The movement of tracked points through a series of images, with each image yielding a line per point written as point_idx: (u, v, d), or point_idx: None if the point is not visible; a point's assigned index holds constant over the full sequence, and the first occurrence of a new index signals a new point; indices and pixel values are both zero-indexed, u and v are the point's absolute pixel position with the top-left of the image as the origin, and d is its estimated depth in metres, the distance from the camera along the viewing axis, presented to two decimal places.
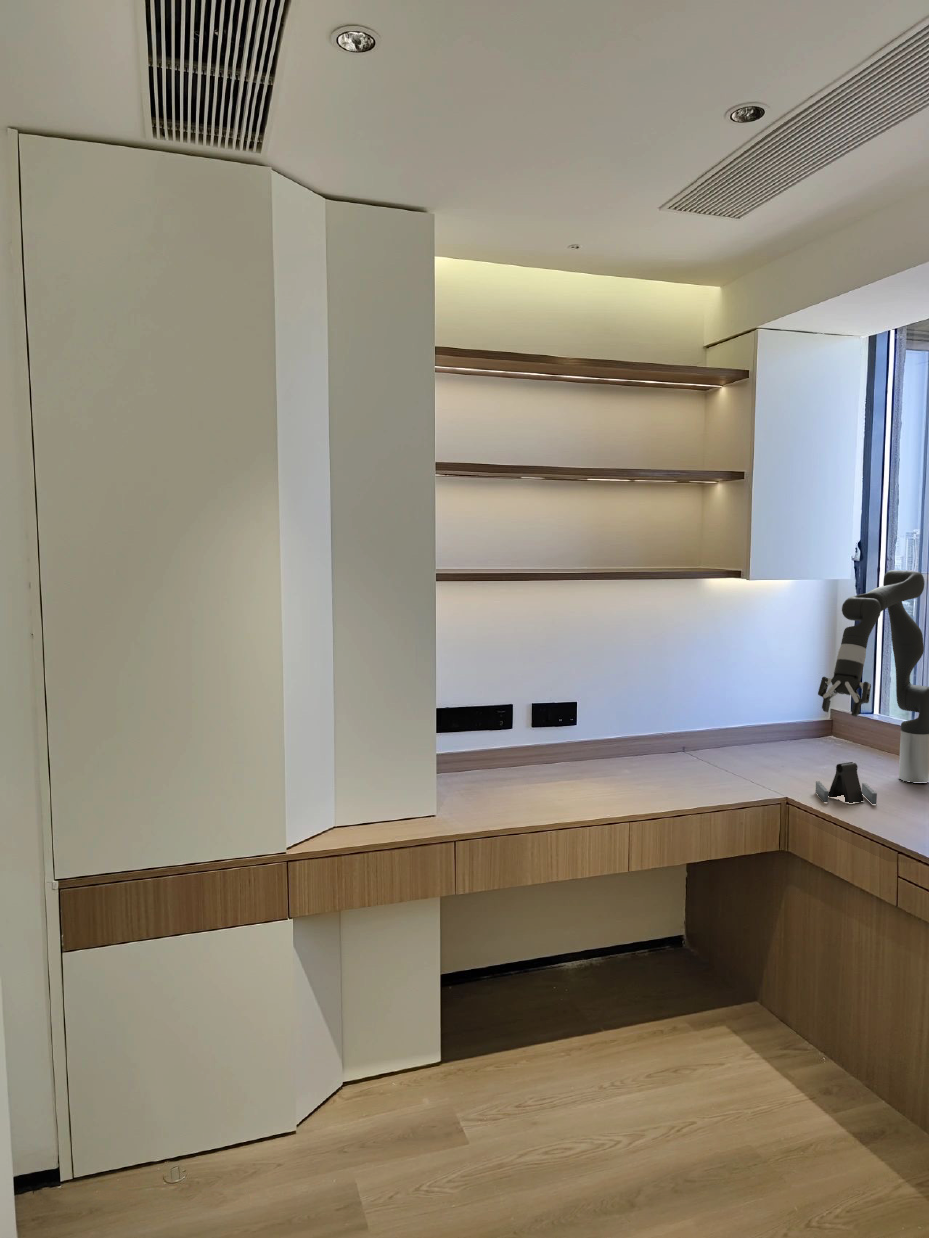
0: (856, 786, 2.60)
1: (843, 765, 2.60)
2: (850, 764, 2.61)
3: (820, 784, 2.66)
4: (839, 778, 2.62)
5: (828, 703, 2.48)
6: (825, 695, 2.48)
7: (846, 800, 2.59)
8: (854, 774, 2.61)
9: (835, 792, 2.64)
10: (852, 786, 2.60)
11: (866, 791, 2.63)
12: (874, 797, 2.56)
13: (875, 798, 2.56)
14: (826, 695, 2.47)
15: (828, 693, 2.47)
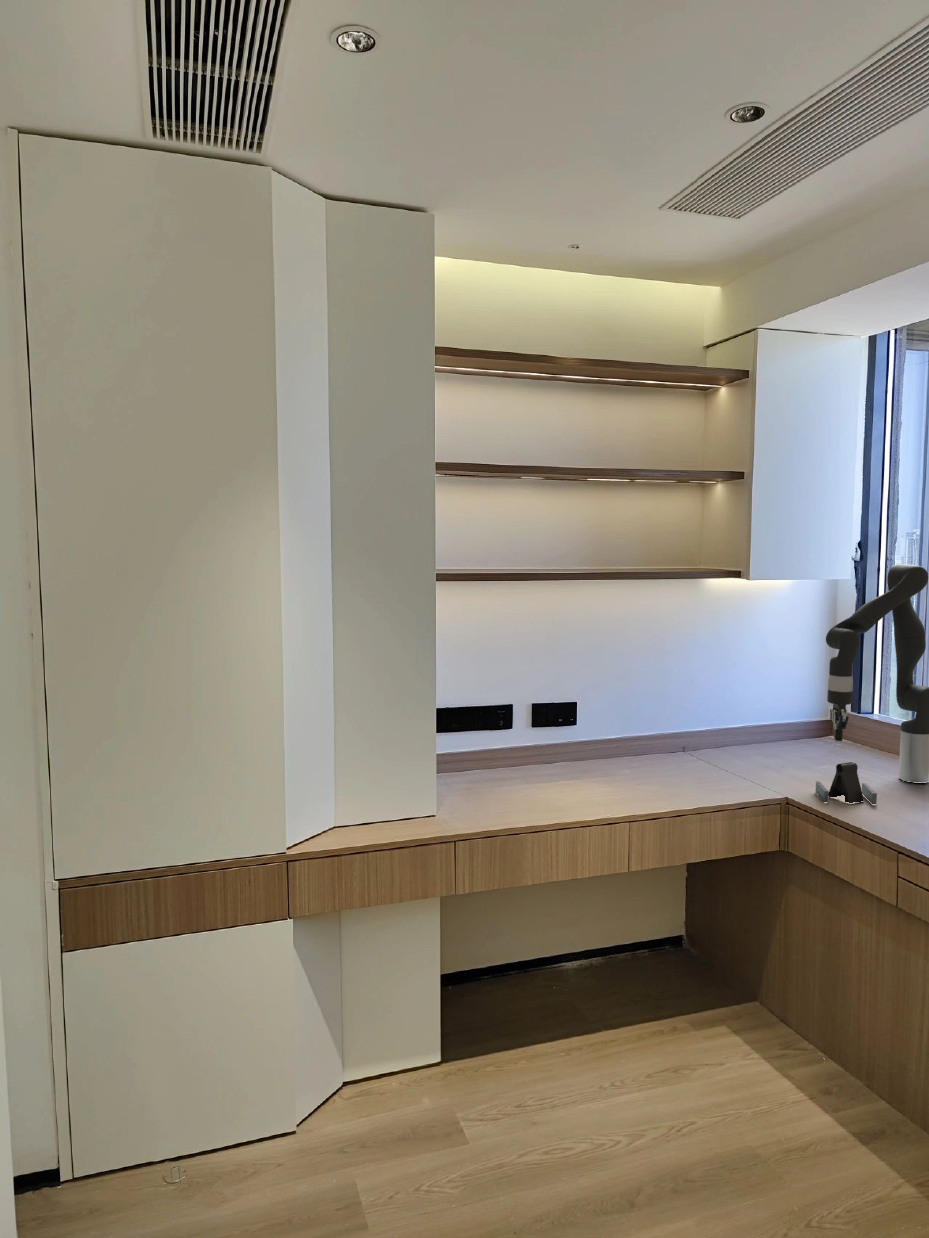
0: (856, 786, 2.60)
1: (843, 765, 2.60)
2: (850, 764, 2.61)
3: (820, 784, 2.66)
4: (839, 778, 2.62)
5: None
6: (834, 726, 2.73)
7: (846, 800, 2.59)
8: (854, 774, 2.61)
9: (835, 792, 2.64)
10: (852, 786, 2.60)
11: (866, 791, 2.63)
12: (874, 797, 2.56)
13: (875, 798, 2.56)
14: (834, 726, 2.72)
15: (834, 723, 2.72)
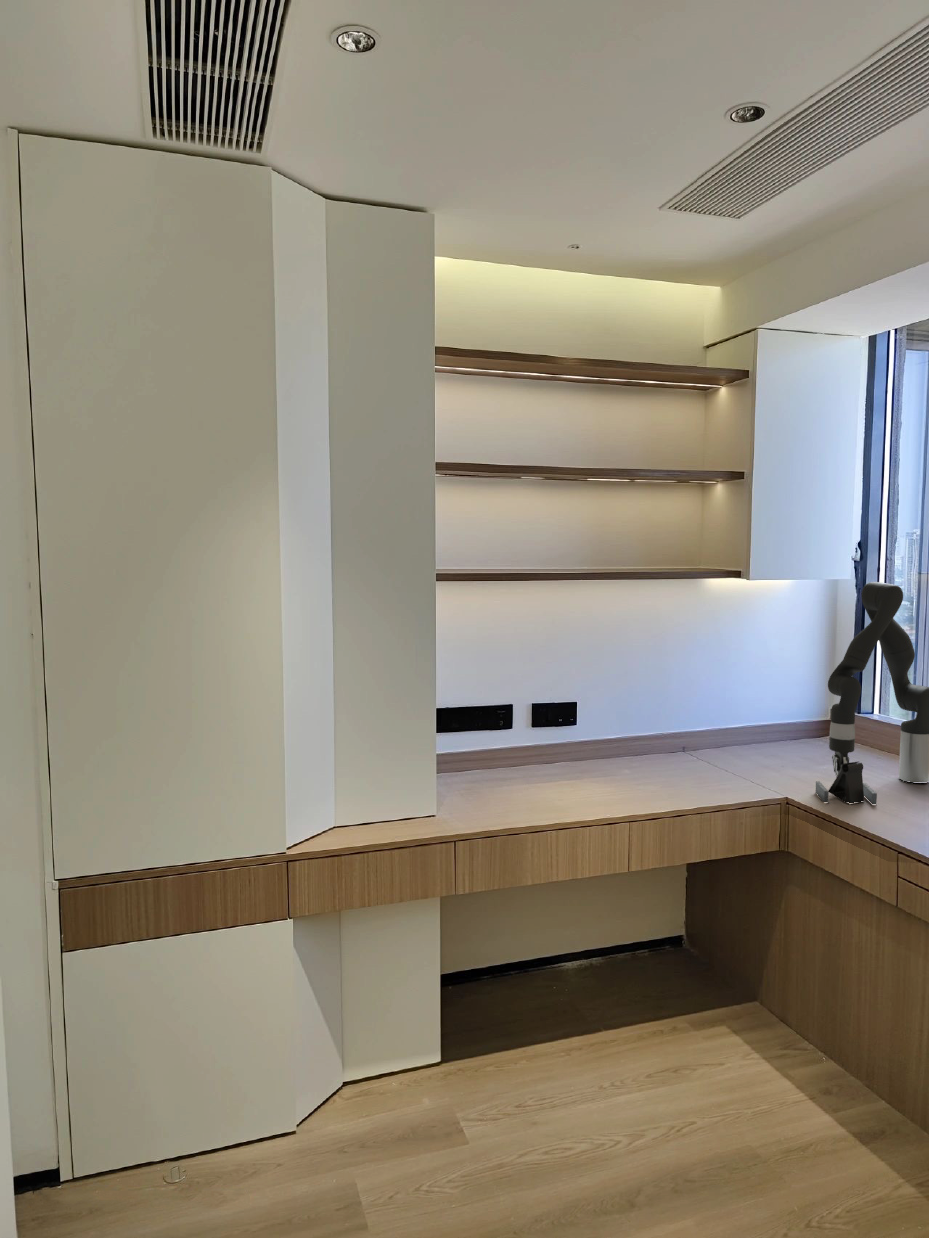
0: (859, 786, 2.59)
1: (849, 765, 2.58)
2: (856, 764, 2.59)
3: (820, 784, 2.66)
4: (843, 776, 2.61)
5: None
6: (835, 773, 2.69)
7: (847, 799, 2.58)
8: (859, 774, 2.60)
9: (837, 788, 2.63)
10: (855, 786, 2.59)
11: (866, 791, 2.63)
12: (874, 797, 2.56)
13: (875, 798, 2.56)
14: (836, 773, 2.69)
15: (836, 770, 2.69)
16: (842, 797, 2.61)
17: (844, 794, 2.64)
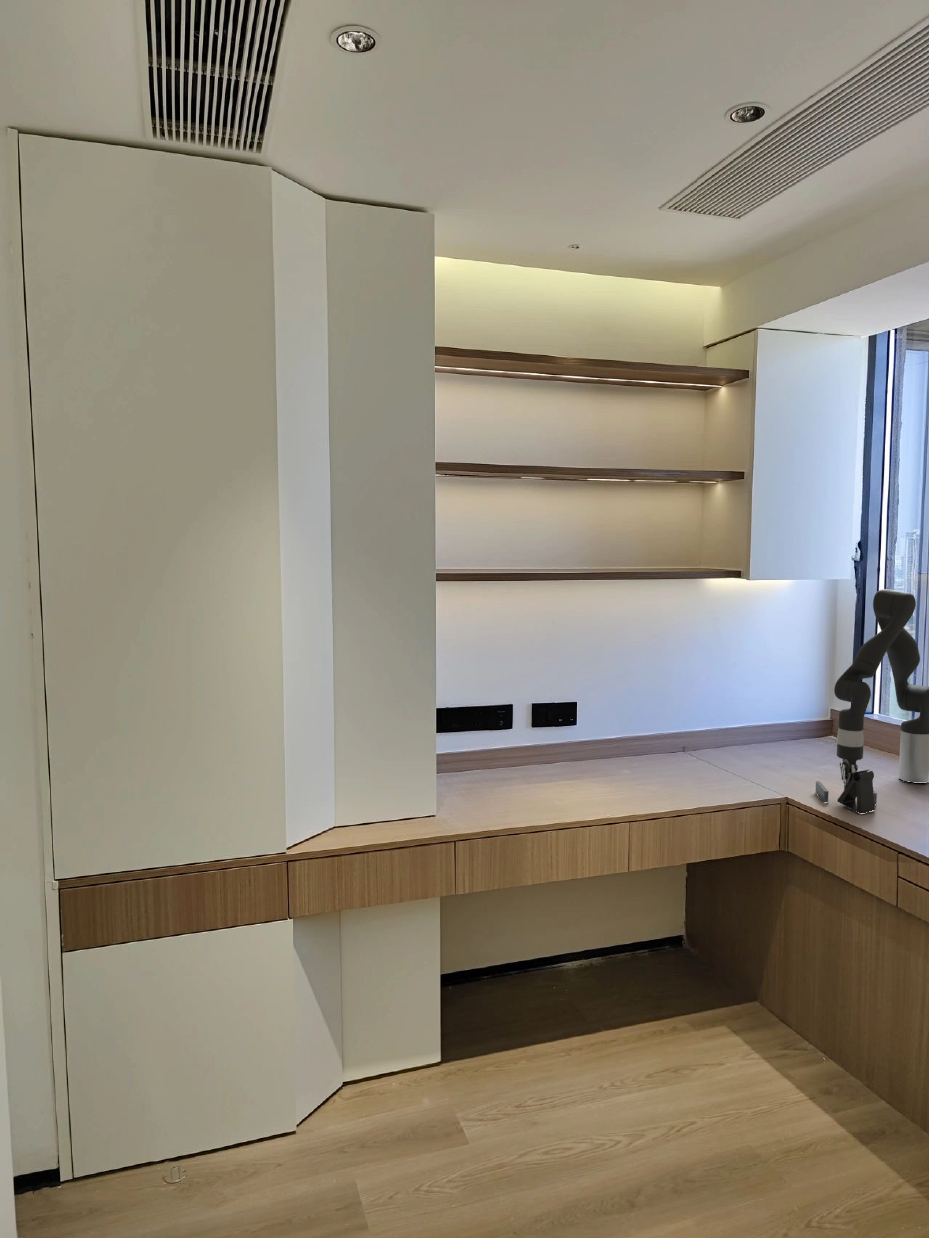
0: (870, 795, 2.50)
1: (861, 774, 2.48)
2: (867, 773, 2.49)
3: (820, 784, 2.66)
4: (853, 785, 2.51)
5: None
6: (843, 781, 2.59)
7: (858, 809, 2.49)
8: (869, 783, 2.50)
9: (846, 797, 2.53)
10: (866, 795, 2.49)
11: None
12: (874, 797, 2.56)
13: (875, 798, 2.56)
14: (844, 781, 2.59)
15: (844, 778, 2.59)
16: (852, 807, 2.52)
17: (853, 803, 2.54)
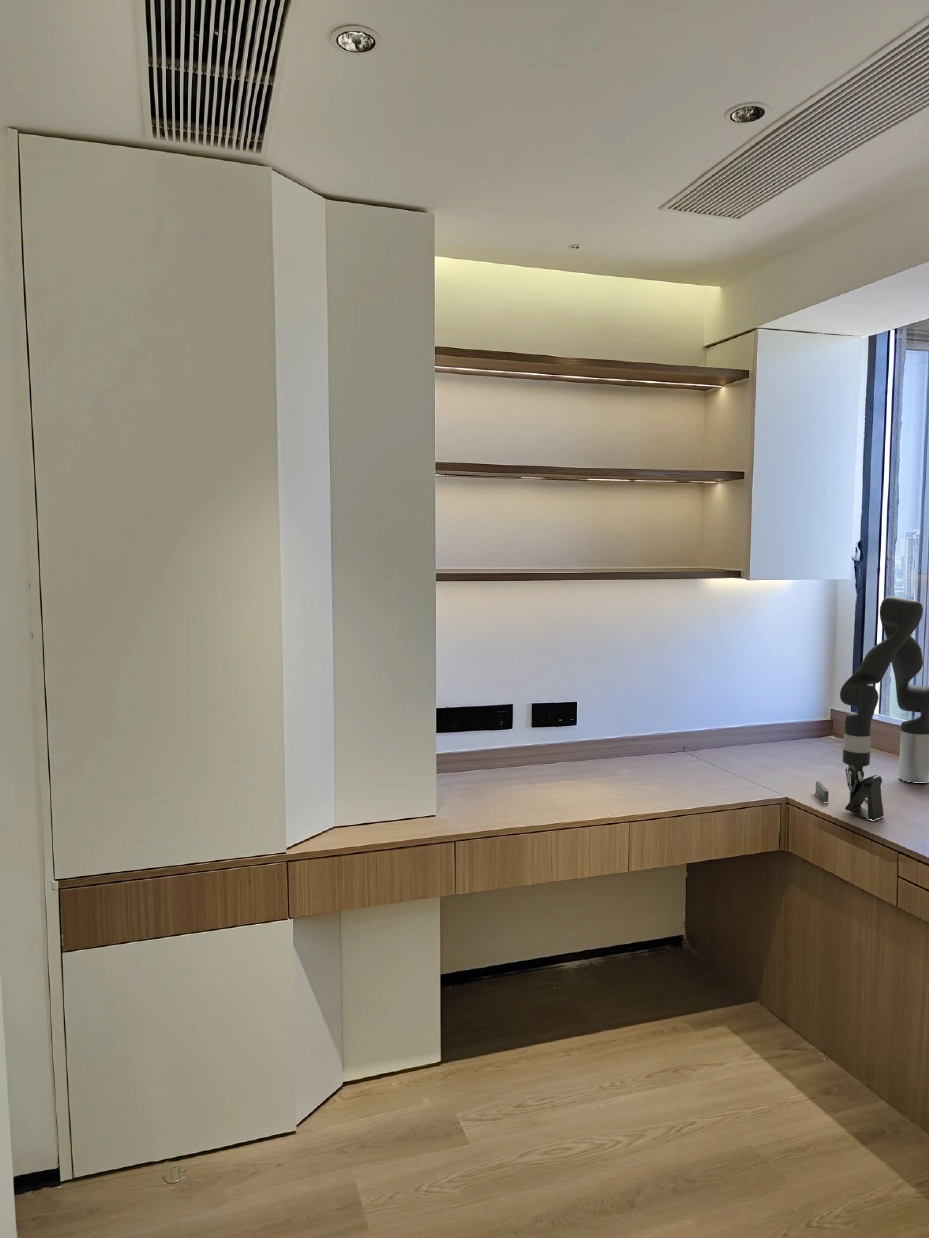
0: (879, 801, 2.44)
1: (872, 780, 2.42)
2: (877, 778, 2.43)
3: (820, 784, 2.66)
4: (863, 792, 2.45)
5: None
6: (849, 787, 2.52)
7: (869, 817, 2.42)
8: (878, 788, 2.44)
9: (855, 805, 2.47)
10: (876, 802, 2.43)
11: None
12: None
13: None
14: (849, 788, 2.52)
15: (849, 785, 2.52)
16: (862, 814, 2.45)
17: (861, 810, 2.48)
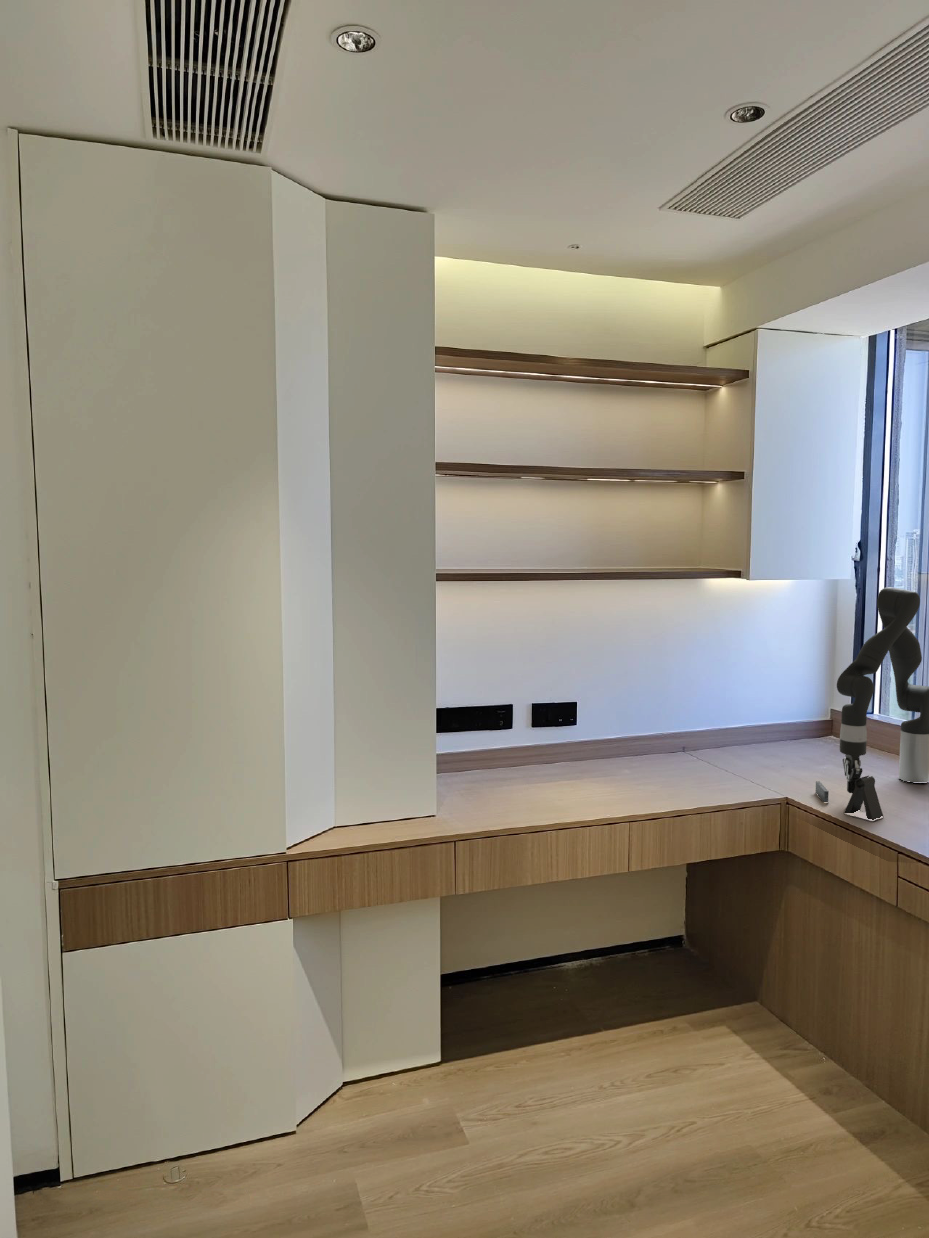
0: (875, 801, 2.45)
1: (863, 780, 2.44)
2: (869, 778, 2.46)
3: (820, 784, 2.66)
4: (858, 793, 2.46)
5: None
6: (846, 777, 2.57)
7: (868, 817, 2.43)
8: (872, 788, 2.46)
9: (853, 808, 2.47)
10: (872, 801, 2.44)
11: None
12: None
13: None
14: (847, 777, 2.57)
15: (847, 774, 2.57)
16: None
17: None
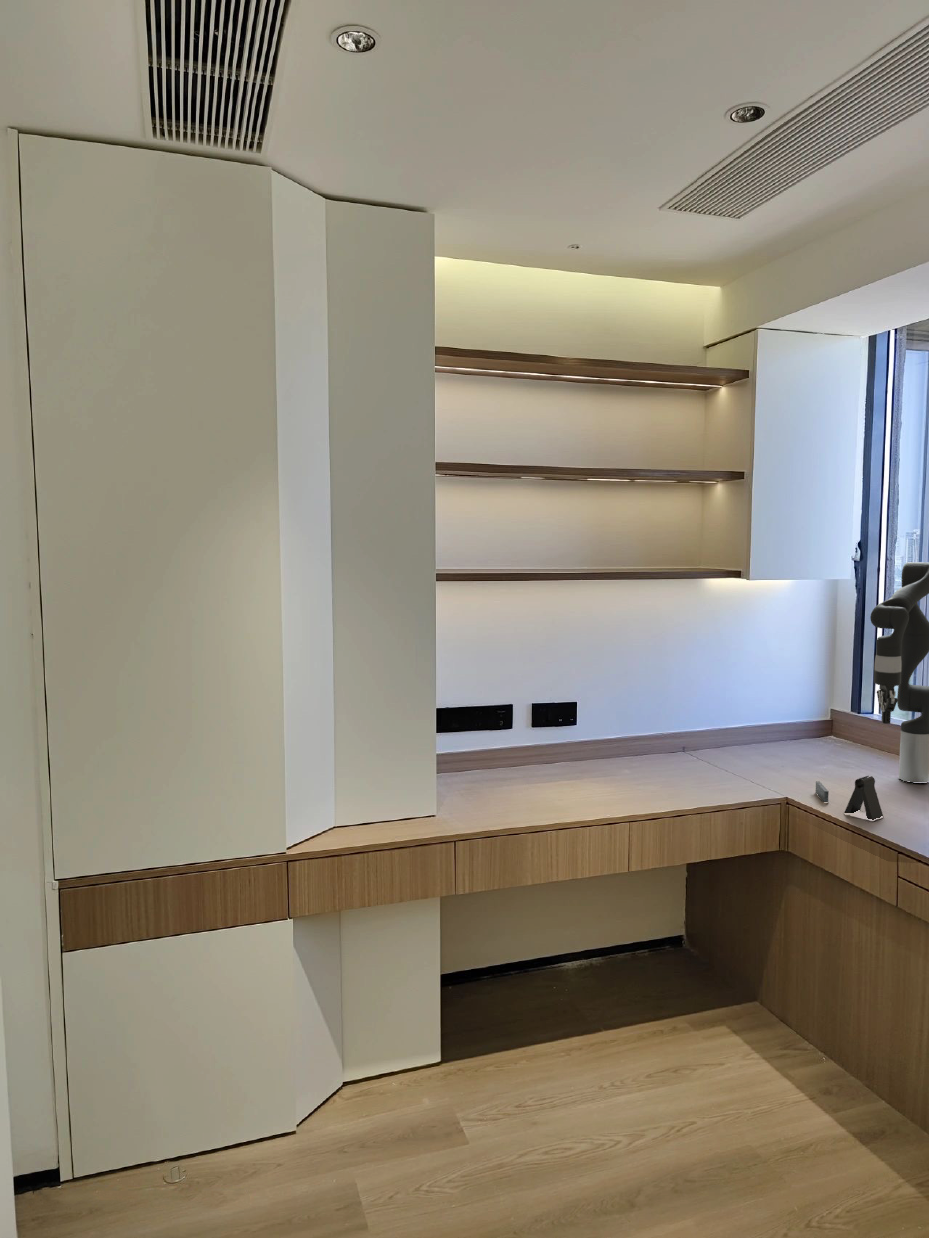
0: (875, 801, 2.45)
1: (863, 780, 2.44)
2: (868, 778, 2.46)
3: (820, 784, 2.66)
4: (857, 794, 2.46)
5: None
6: (881, 708, 2.61)
7: (868, 817, 2.43)
8: (872, 788, 2.46)
9: (853, 808, 2.47)
10: (872, 802, 2.44)
11: None
12: None
13: None
14: (881, 708, 2.61)
15: (881, 705, 2.61)
16: None
17: None
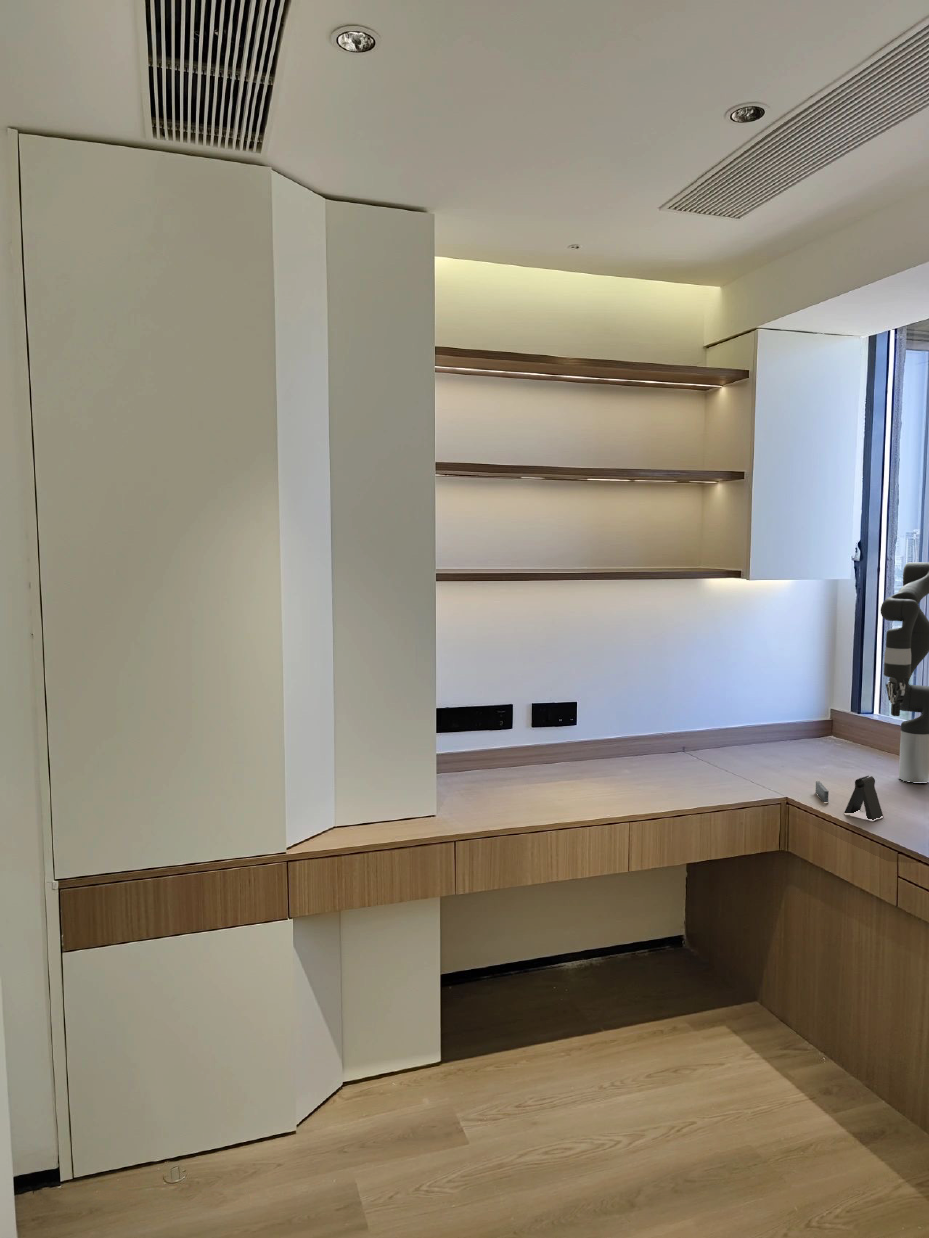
0: (875, 801, 2.45)
1: (863, 780, 2.44)
2: (869, 778, 2.46)
3: (820, 784, 2.66)
4: (857, 794, 2.46)
5: None
6: (890, 700, 2.62)
7: (868, 817, 2.43)
8: (872, 788, 2.46)
9: (853, 808, 2.47)
10: (872, 802, 2.44)
11: None
12: None
13: None
14: (891, 700, 2.62)
15: (891, 697, 2.62)
16: None
17: None
